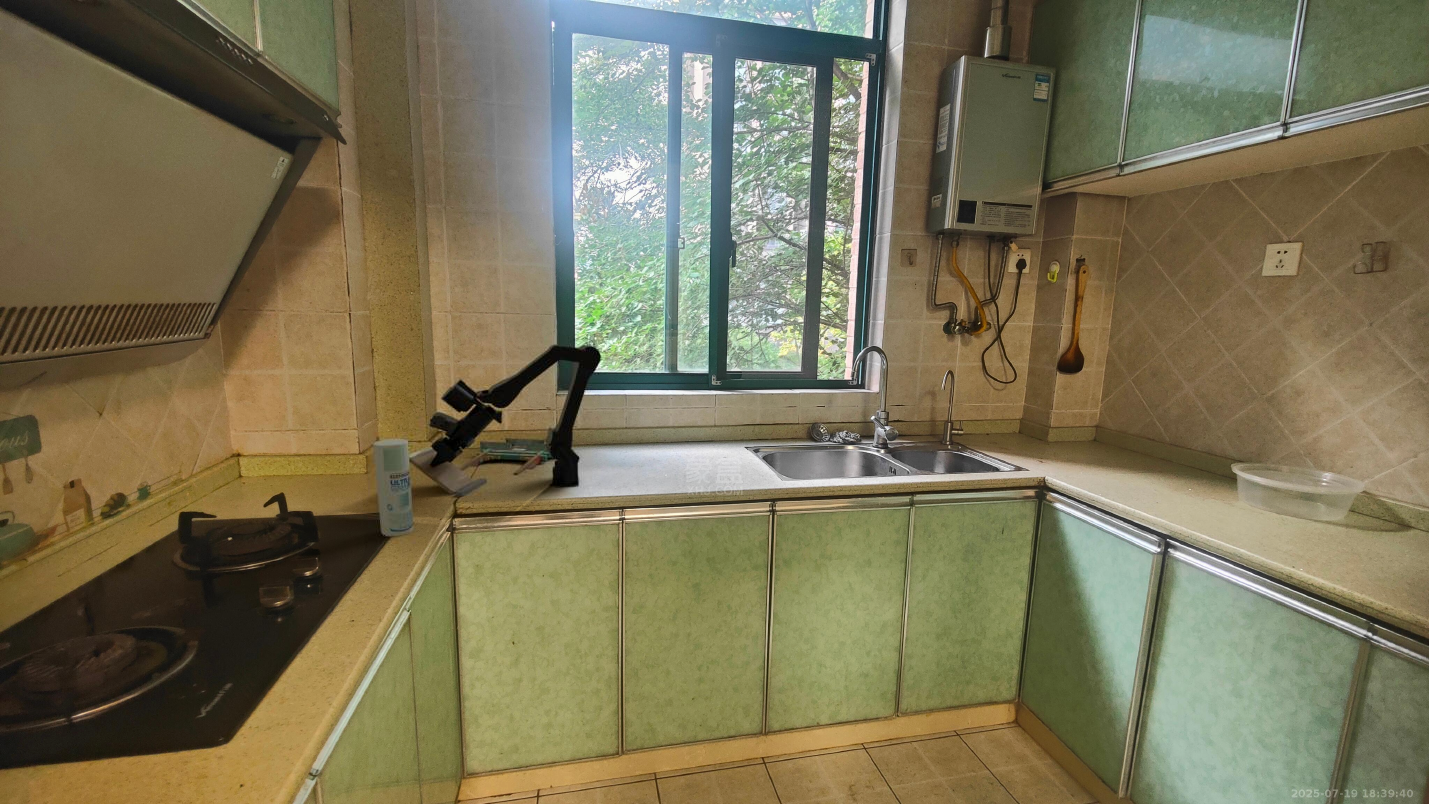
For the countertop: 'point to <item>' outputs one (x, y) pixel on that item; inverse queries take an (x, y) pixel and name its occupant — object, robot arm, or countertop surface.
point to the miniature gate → (512, 452)
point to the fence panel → (440, 471)
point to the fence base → (470, 487)
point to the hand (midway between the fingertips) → (431, 465)
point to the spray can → (393, 486)
